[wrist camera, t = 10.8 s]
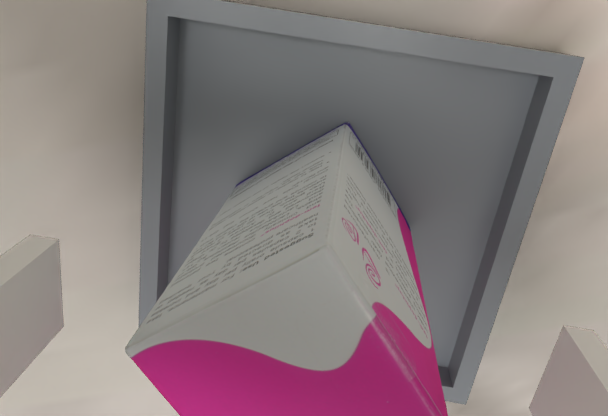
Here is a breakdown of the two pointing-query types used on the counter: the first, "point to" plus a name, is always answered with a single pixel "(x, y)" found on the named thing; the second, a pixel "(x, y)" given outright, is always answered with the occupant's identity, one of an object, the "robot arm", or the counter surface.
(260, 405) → the supplement box
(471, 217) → the tray
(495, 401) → the counter surface
